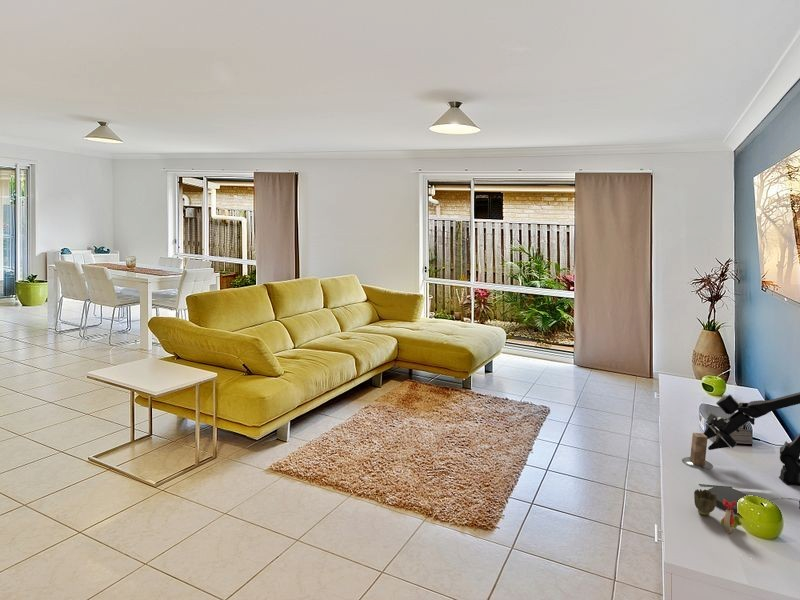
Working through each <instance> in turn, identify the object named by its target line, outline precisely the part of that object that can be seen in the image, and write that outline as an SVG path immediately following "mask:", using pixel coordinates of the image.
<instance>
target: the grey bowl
mask: <svg viewBox="0 0 800 600" xmlns="http://www.w3.org/2000/svg"><path fill="white" fill-rule="evenodd" d="M681 461H682V463H683V464H684V465H686V466H688V467H689V468H693V469H697V470H703V471H705V470H712V469H713V468H714V466H713V465H714V464H712V463H711V462H709V461H708V460H706V459H705V466H700V465H693V463H692V462H691V461H690V456H686V457H683V458H681Z"/></svg>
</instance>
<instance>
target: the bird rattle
mask: <svg viewBox="0 0 800 600" xmlns="http://www.w3.org/2000/svg"><path fill="white" fill-rule="evenodd" d="M723 500H724V502H723V505H724V506H725V507H726V508H727V509H726V510H725V513H724V516H723V517H722V518H721V519H720V520H721V522H720V524H721V526H722V527H724V529H725V532H726V533H727V532H728V533H727V534H731V533H732V531H733V529H737V526H742V525H743V523H742V521H740V517H739V516H738V515H735V513H734V512H733V510H732V508H733V507H734V506H735V505H736V502H737V501H734V502H731V503H729V502H728V501H727V500H725V499H723Z"/></svg>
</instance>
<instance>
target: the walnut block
mask: <svg viewBox="0 0 800 600" xmlns="http://www.w3.org/2000/svg"><path fill="white" fill-rule="evenodd" d="M691 437H692V438H691V449H690V456H689V457H690V461H691V462H692V463H693V465H700V466H705V460H706V456H707V449H708V447H707V446H708V440H709V439H708V437H707V436H706V435H705V434H704V432H703V433H701V432H699V433H698V432H692V436H691Z"/></svg>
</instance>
